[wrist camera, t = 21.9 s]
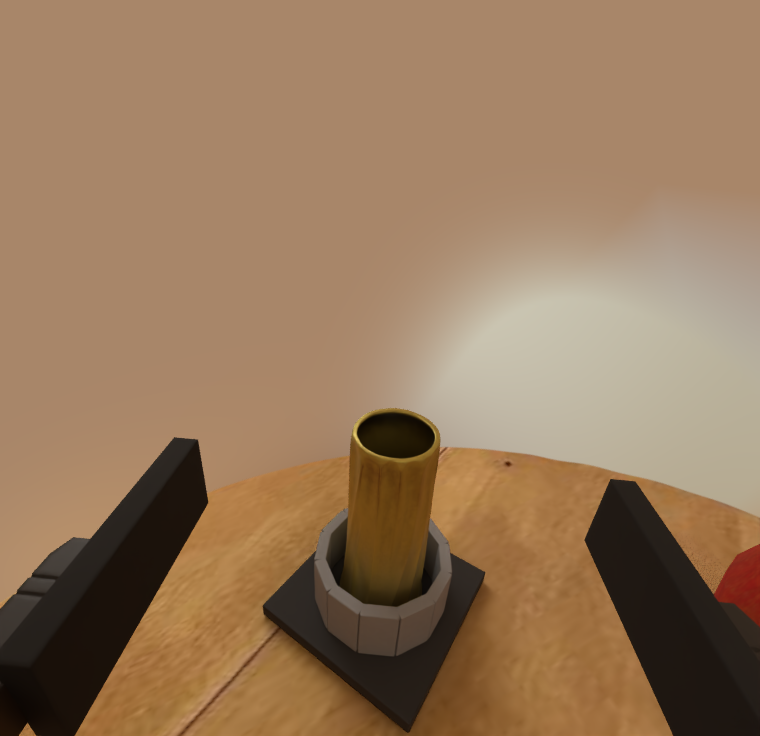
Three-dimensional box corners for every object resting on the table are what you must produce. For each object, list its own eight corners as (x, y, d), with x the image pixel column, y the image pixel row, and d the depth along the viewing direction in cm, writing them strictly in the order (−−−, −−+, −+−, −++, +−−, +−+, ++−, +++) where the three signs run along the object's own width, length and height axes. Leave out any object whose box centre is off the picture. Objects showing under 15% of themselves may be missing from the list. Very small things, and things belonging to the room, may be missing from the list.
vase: (328, 617, 29) (330, 454, 22) (351, 545, 34) (359, 397, 27) (415, 639, 28) (445, 476, 21) (425, 561, 33) (451, 412, 27)
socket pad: (263, 613, 30) (258, 567, 27) (361, 510, 39) (363, 469, 36) (408, 733, 24) (417, 687, 22) (483, 580, 33) (495, 536, 31)
